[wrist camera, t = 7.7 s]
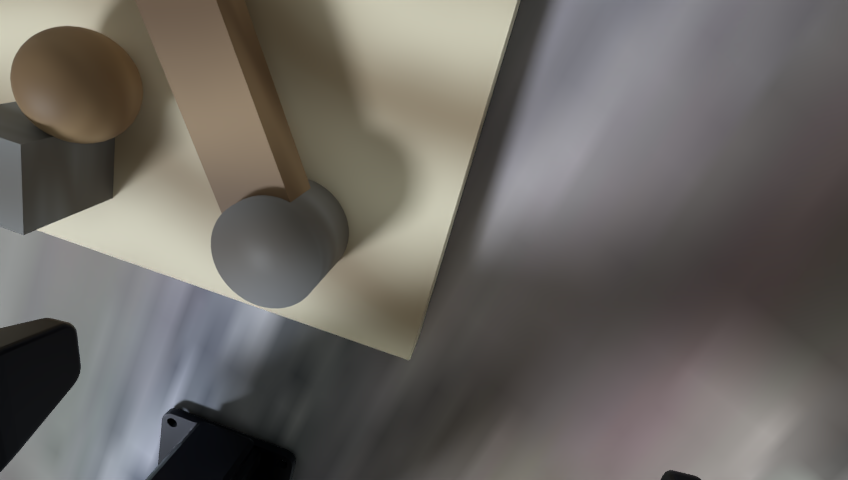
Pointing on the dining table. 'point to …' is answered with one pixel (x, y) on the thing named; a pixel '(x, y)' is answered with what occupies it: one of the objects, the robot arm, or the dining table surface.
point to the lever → (246, 153)
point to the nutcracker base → (309, 124)
